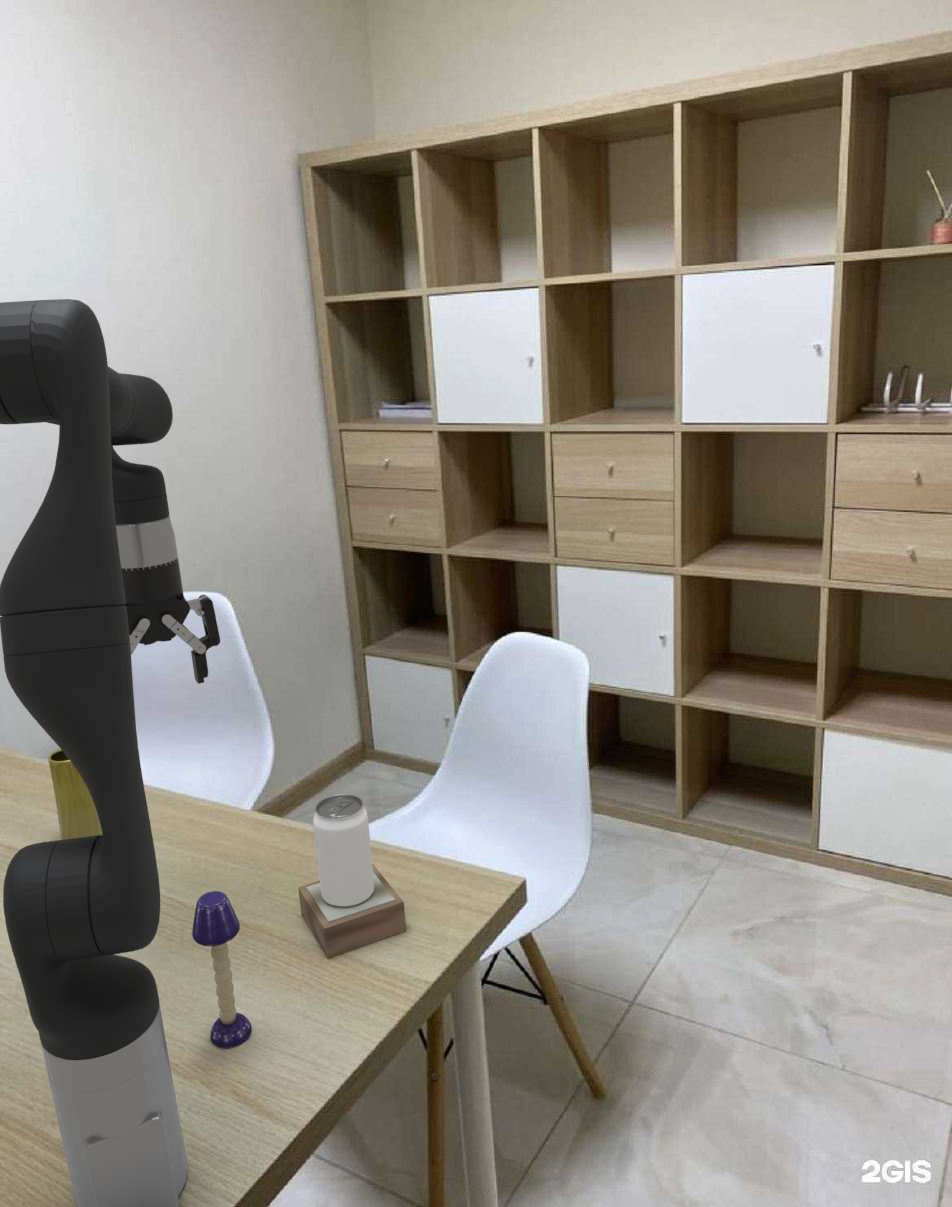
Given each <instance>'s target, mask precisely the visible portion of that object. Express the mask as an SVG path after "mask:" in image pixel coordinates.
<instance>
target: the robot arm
mask: <svg viewBox="0 0 952 1207" xmlns="http://www.w3.org/2000/svg"><path fill="white" fill-rule="evenodd" d="M106 348H107V347H106V344H105V338H104V335H103V331H102V327H101V325H100V323H99V320H98V317H97V316H96V313H95V312H94V311H93V310H92V308H91V307H90V305H88V304H86V303H84V302H83V301H81V300H78V299H70V298H66V299H65V298H62V299H61V298H60V299H58V298H57V299H37V300H23V301H22V300H21V301H19V300H18V301H7V302H5V301H3V302H0V425H21V424H22V425H24V424H38V423H40V424H41V423H47V424H52V425H57V426H59V427H58V428H59V430H58V431H59V434H58V445H57V452H56V459H55V465H54V471H53V474H52V478H51V480H50V482H49V487H48V489H47V491H46V493H45V496H44V498H43V500H42V502H41V504H40V506H39V509H38V510H37V512H36V514H35V516H34V518H33V520H32V521H31V523H30V525H29V527H28V528H27V530H26V532H25V533H24V535H23V537H22V539H21V540H20V542H19V544H18V545H17V547H16V549H15V551H14V553H13V555H12V556H11V559H10V560H9V562H8V565H7V566H6V569H5V571H4V574H3V575H2V579H1V582H0V637H1V646H2V647H1V648H2V655H3V658H2V659H3V664H4V672H5V676H6V679H7V681H8V684H9V685H10V687H11V689H12V690H13V692H14V695H15V696H16V697H17V698H18V700H19V702H20V703H21V704H22V706H24V708H25V709H26V711H27V712H28V713H29V714H30V715H31V717H32V718H33V719H34V720H35V721H36V722H37V724H39V726H40V727H41V728H42V729H43V730H44V731H45V733H46V734H47V735H48V737H50V738H51V740H53V742H54V743H55V744H56V745H57V746H58V747H59V749H61V750H62V751H63V752H64V753H65V755H66V756H67V757H68V758H69V760H70V761H71V762H72V764H73V765H74V767H75V768H76V769H77V771H78V773H79V774H80V776H81V777H82V779H83V781H84V782H85V784H86V786H87V788H88V790H89V793H90V795H91V797H92V799H93V802H94V805H95V808H96V811H97V814H98V818H99V821H100V825H101V829H102V834H103V835H96V836H88V837H80V838H73V839H65V840H62V839H58V840H51V841H50V840H49V841H43V842H37V843H33V844H29V845H26V846H24V847H23V848H20V849H19V850H18V851H17V852H16V853H15V854H14V855H13V857H12V858H11V860H10V861H9V864H8V866H7V869H6V872H5V876H4V880H3V890H2V891H3V893H2V894H3V896H2V905H3V913H4V914H3V915H4V921H5V927H6V931H7V932H6V933H7V936H8V940H9V944H10V948H11V951H12V954H13V958H14V960H15V964H16V967H17V970H18V974H19V978H20V980H21V981H20V982H21V984H22V987H23V991H24V994H25V999H26V1004H27V1007H28V1011H29V1015H30V1018H31V1021H32V1023H33V1025H34V1027H35V1028H36V1030H37V1031H38V1035H39V1036H38V1037H39V1039H40V1041H39V1042H40V1045H41V1048H42V1049H41V1050H42V1052H43V1053H42V1054H43V1058H44V1064H45V1068H46V1074H47V1077H48V1082H49V1086H50V1091H51V1097H52V1100H53V1101H52V1102H53V1105H54V1108H55V1109H54V1110H55V1114H56V1115H55V1116H56V1119H57V1125H58V1128H59V1133H60V1136H61V1142H62V1143H61V1144H62V1147H63V1152H64V1156H65V1159H66V1160H65V1161H66V1164H67V1168H68V1173H69V1179H70V1182H71V1186H72V1191H73V1196H74V1201H75V1205H76V1207H180V1203H179V1197H180V1194H181V1193H182V1191H183V1189H184V1187H185V1185H186V1182H187V1179H188V1174H189V1173H188V1172H189V1171H188V1170H189V1165H188V1160H187V1154H186V1147H185V1140H184V1137H183V1130H182V1125H181V1121H180V1115H179V1108H178V1102H177V1096H176V1092H175V1085H174V1080H173V1075H172V1069H171V1063H170V1057H169V1056H170V1055H169V1051H168V1044H167V1040H166V1034H165V1026H164V1021H163V1017H162V1016H163V1015H162V1010H161V1004H160V998H159V991H158V986H157V983H156V979H155V977H154V975H153V973H152V972H151V969H149V967H147V965H145V964H143V963H142V962H140V961H138V960H136V959H134V958H130V957H127V956H123V955H118V954H125V953H131V952H135V951H139V950H143V949H145V948H147V947H148V946H150V945H151V943H152V942H153V940H154V939H155V937H156V934H157V931H158V928H159V923H160V918H161V917H160V914H161V891H160V890H161V888H160V879H159V878H160V877H159V870H158V864H157V857H156V851H155V844H154V838H153V832H152V826H151V821H150V820H151V819H150V814H149V810H148V809H149V808H148V802H147V796H146V791H145V785H144V779H143V773H142V772H143V771H142V767H141V758H140V751H139V743H138V736H137V735H138V734H137V721H136V710H135V696H134V694H135V692H134V677H133V666H132V662H133V661H132V654H133V653H134V652H135V650H136V648H137V647H138V645H139V644H141V645H143V646H148V645H152V644H155V643H157V642H169V641H172V639H174V638H175V637H176V636H177V637H179V638H180V639H181V640H182V641H183V642H185V644H187V645H188V646H189V647H190V648H191V649H192V650H190V653H191V660H192V667H193V668H192V669H193V674H194V680H195V682H196V684H199V685H200V684H204V683H205V678H208V676H209V667H208V661H207V660H208V659H207V651H208V650H209V649H210V648H212V647H217V646H219V645H220V644H221V637H220V632H219V627H218V622H217V616H216V612H215V611H216V610H215V607H214V603H213V600H212V599H211V598H210V597H209V596H207V594H201V595H200V596H198V598H193V599H189V600H186V598H185V595H184V590H183V583H182V576H181V569H180V562H179V554H178V549H177V542H176V535H175V532H174V527H173V525H172V521H171V516H170V508H169V501H168V494H167V488H166V481H165V477H164V474H163V472H162V471H161V469H160V468H158V467H156V466H152V465H149V464H141V463H134V462H130V461H127V460H125V459H123V458H122V457H121V456H120V455H119V454H118V453H117V452H116V450H115V449H114V446H115V447H116V446H130V445H131V446H133V445H148V444H153V443H157V442H159V441H162V440H163V439H164V438H166V435H168V433H169V432H170V430H171V427H172V425H173V416H174V415H173V406H172V402H171V399H170V397H169V395H168V393H167V392H166V390H165V389H164V387H162V386H161V384H160V383H159V382H157V381H156V380H155V379H153V378H151V377H147V376H144V375H143V376H142V375H139V374H131V373H121V372H118V371H116V370H115V369H113V368H112V367H110V366H108V365H109V364H108V356H107V355H108V354H107V349H106ZM191 610H192V611H194V613H195V614H196V615H197V616H198V617H199V618H200V617H201V619H202V624H203V629H204V636H202V637H200V638H199V637H198V636H197V635H195V634H194V633H193V632H192V631H191V630H190V629H189V628H188V627H187V626H185V625H184V623H185V620H186V619H187V617H188V615H189V613H190V611H191Z"/></svg>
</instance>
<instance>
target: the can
mask: <svg viewBox="0 0 952 1207" xmlns="http://www.w3.org/2000/svg"><path fill="white" fill-rule="evenodd" d="M363 804H364V802H363V800H362V798H360V797H359V796H357V795H353V794H346V793H345V794H344V793H343V794H342V793H341V794H335V795H331V796H328V797H326V798H323V799H321V800H320V801H319V802H318V803H316V805H315V813H314V816H313V820H312V821H313V832H314V840H315V841H314V842H315V849H316V850H315V853H316V859H317V860H316V862H317V868H318V876H319V877H318V878H319V879H318V880H319V881H320V887H321V894H322V898H323V899H324V901H326V902H327V903H328V904H330V905H332V906H335V907H352V906H356V905H359V904H361V903H363V902H365V901H366V900H367V899H369V897H370V896H371V895H372V893H373V891H374V877H373V866H372V864H373V858H372V845H371V837H370V835H371V834H370V827H369V818H368V817H369V816H368V812H367V810H366V808H365V806H364V805H363Z"/></svg>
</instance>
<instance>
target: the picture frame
mask: <svg viewBox="0 0 952 1207" xmlns="http://www.w3.org/2000/svg"><path fill="white" fill-rule="evenodd" d="M372 866H373V877H374V891H373V893H372V895H371V896H370V897H369V899H367V900H366V901H365V902H363V903H361V904H359V905H356V906H352V907H335V906H332V905H330V904H328V903H327V902H326V901H324V899H323V898H322V894H321V887H320V880H317V881H313V882H311V883H307V884H305V885H301V886H299V887H297V888H298V889H297V890H298V897H299V904H300V905H299V906H300V913H301V917H302V919H303V920H304V922H305V924H306V925H307V926H308V928H309V930H310V932H311V933H312V935H313V937H314V938H315V939H316V942H317V943H318V945H319V947H320V948H321V950H322V952H323V953H324V955H325V956H326V958H327V959H330V958H333V957H336V956H338V955H342V954H345V953H347V952H350V951H352V950H356V949H359V948H362V947H364V946H367V945H370V944H373V943H376V942H378V941H381V940H383V939H387V938H390V937H393V936H396V935H399V934H401V933H404V932H407V926H406V925H407V924H406V916H405V915H406V913H405V911H406V910H405V902H404V900H403V899H402V898H401V897H400V895H399V894H398V893H397V892H396V891H395V890H394V888H393V886H391V884H390V883H389V882H388V881H387V879H386V878H385V877H384V875H382V873H381V872H380V870H379V869H378V868H377V867H376V866H375V864H373V863H372Z"/></svg>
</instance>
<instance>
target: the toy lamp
mask: <svg viewBox="0 0 952 1207" xmlns="http://www.w3.org/2000/svg"><path fill="white" fill-rule="evenodd" d="M239 931H240V921H239V919H238V916H237V914H236V911H235V910H234V907H233V905H232V903H231V902H230V899H229V898H228V895H227V894H225V892H222V891H219V890H215V891H214V890H212V891H209V892H208V891H207V892H205V893H204V894H202V895H200V896H199V898H198V899H197V901H196V906H195V911H194V917H193V922H192V930H191V933H192V934H191V935H192V939H193V940H194V942H195V943H196V944H198V945H200V946H203V947H211V949H210V952H211V953H210V956H211V958H212V959H213V961H212V967H213V971H214V981H215V984H216V987H215V988H216V989H215V992H216V995H217V997H218V998H217V1006H218V1008H219V1014H218V1015H219V1016H218V1018H217V1019H216V1020H215V1022H214V1023H213V1025H212V1027H211V1029H210V1036H209V1038H210V1041H211V1043H212V1044H213V1045H214V1046H215V1047H217V1048H221V1049H222V1048H223V1049H229V1048H235V1047H237V1046H240V1045H241V1044H243V1043H245V1042H246V1041H247V1040H248V1039H249V1038H250V1036H251V1034H252V1031H253V1030H252V1028H253V1027H252V1024H251V1022H250V1020H249V1019H248V1017H247V1016H245V1015H244V1014H243V1013H240V1012H237V1009H236V1006H235V1004H236V998H235V994H234V983H233V981H232V980H233V972H232V969H231V959H230V957H229V953H230V952H229V946H228V944H227V943H228V942H230V941H232V940H234V938H235V937H236V936H237V935H238V933H239Z"/></svg>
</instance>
